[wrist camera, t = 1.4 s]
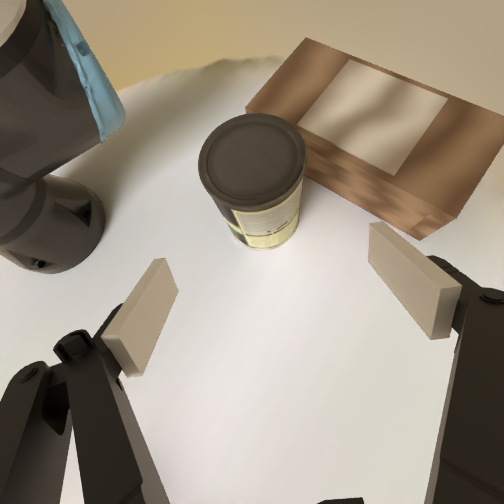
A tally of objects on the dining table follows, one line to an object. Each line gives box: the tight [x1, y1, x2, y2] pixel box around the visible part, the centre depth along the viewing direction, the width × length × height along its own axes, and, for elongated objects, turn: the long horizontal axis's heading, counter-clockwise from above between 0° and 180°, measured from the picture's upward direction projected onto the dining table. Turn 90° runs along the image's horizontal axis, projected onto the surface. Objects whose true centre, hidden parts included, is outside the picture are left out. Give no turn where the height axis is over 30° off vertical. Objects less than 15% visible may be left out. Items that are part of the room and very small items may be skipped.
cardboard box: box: [245, 38, 504, 241], centre depth 34 cm, size 28×14×8 cm, turn 53°
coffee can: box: [198, 113, 307, 250], centre depth 30 cm, size 10×10×14 cm
